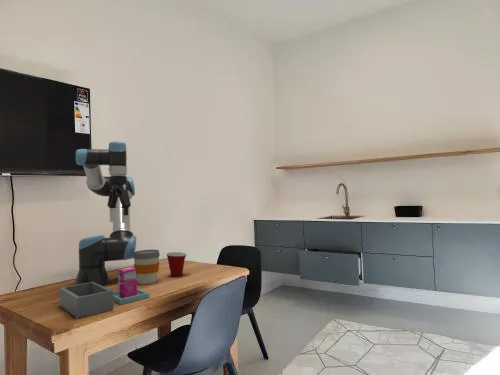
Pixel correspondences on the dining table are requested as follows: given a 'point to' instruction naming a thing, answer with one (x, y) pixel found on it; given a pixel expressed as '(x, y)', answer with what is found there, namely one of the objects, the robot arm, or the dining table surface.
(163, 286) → the dining table surface
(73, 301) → the deep bin
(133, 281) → the supplement box
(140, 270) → the reusable coffee cup
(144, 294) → the tray
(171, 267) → the plastic cup
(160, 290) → the dining table surface
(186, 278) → the dining table surface
